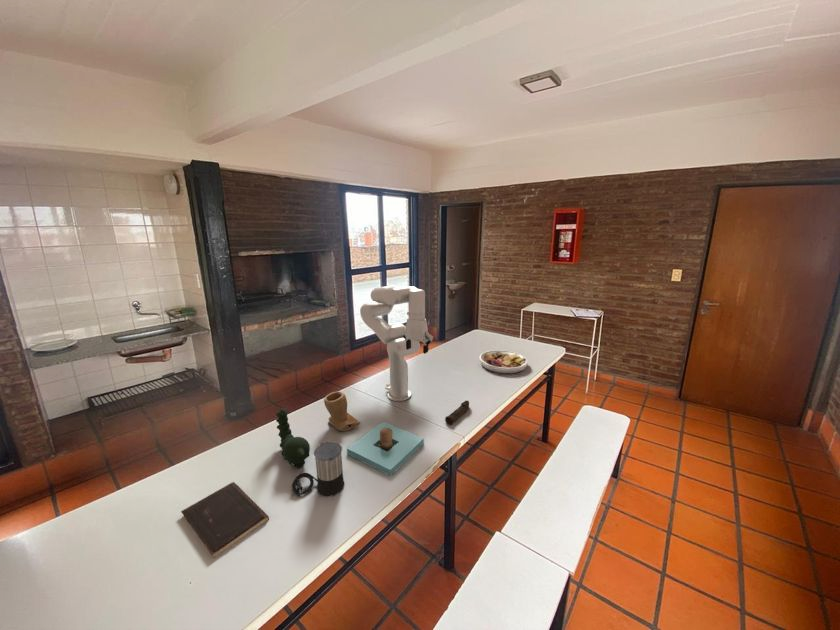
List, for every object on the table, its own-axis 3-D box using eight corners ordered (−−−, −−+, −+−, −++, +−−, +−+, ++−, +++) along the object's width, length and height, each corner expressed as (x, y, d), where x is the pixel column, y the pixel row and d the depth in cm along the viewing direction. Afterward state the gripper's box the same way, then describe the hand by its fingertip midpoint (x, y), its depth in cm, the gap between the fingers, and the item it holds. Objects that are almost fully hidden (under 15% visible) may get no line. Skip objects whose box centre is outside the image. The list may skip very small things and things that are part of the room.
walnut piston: (377, 449, 134) (377, 432, 132) (385, 443, 138) (385, 426, 136) (387, 454, 132) (387, 436, 130) (395, 447, 136) (394, 430, 134)
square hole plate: (347, 453, 132) (346, 448, 131) (382, 426, 150) (382, 421, 149) (390, 475, 120) (390, 470, 120) (423, 443, 138) (423, 438, 137)
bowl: (490, 353, 236) (491, 343, 234) (533, 363, 219) (534, 352, 217) (471, 367, 213) (471, 356, 211) (517, 380, 196) (517, 367, 194)
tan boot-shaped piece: (321, 422, 154) (319, 392, 150) (345, 413, 161) (343, 384, 157) (337, 437, 142) (334, 406, 138) (361, 427, 150) (359, 397, 146)
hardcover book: (213, 560, 91) (211, 554, 90) (182, 517, 104) (181, 511, 104) (269, 520, 103) (268, 514, 102) (235, 486, 116) (234, 481, 116)
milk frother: (349, 487, 115) (347, 450, 111) (305, 513, 105) (301, 473, 101) (330, 466, 125) (327, 432, 121) (288, 488, 115) (283, 451, 111)
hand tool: (451, 426, 150) (452, 417, 149) (444, 423, 153) (444, 414, 152) (473, 409, 164) (474, 401, 163) (466, 406, 167) (467, 398, 166)
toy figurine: (273, 450, 137) (292, 481, 117) (267, 408, 133) (285, 432, 113) (296, 442, 142) (318, 470, 122) (291, 400, 139) (312, 422, 119)
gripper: (396, 315, 155) (397, 349, 159) (428, 320, 145) (428, 357, 150) (406, 311, 161) (406, 345, 165) (437, 316, 152) (436, 352, 156)
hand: (417, 350), depth 158 cm, fingers open, 9 cm apart
